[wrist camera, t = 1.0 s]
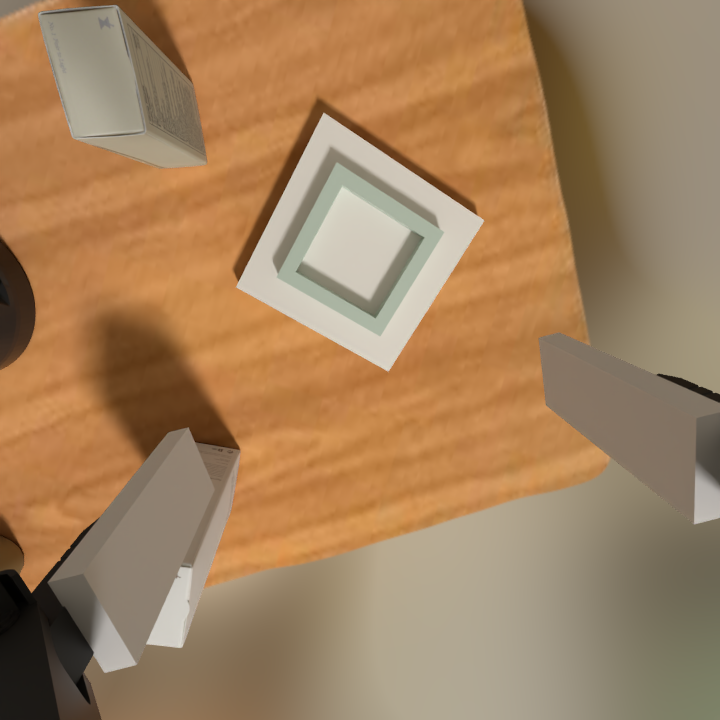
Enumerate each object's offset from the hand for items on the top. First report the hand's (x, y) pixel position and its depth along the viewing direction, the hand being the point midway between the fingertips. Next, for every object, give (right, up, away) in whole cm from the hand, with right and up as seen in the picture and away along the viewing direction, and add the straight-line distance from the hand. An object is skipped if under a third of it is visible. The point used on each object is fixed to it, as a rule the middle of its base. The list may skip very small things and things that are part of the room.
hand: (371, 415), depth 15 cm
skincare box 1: (-16, +21, +19) cm, 32 cm away
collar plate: (-1, +12, +22) cm, 25 cm away
